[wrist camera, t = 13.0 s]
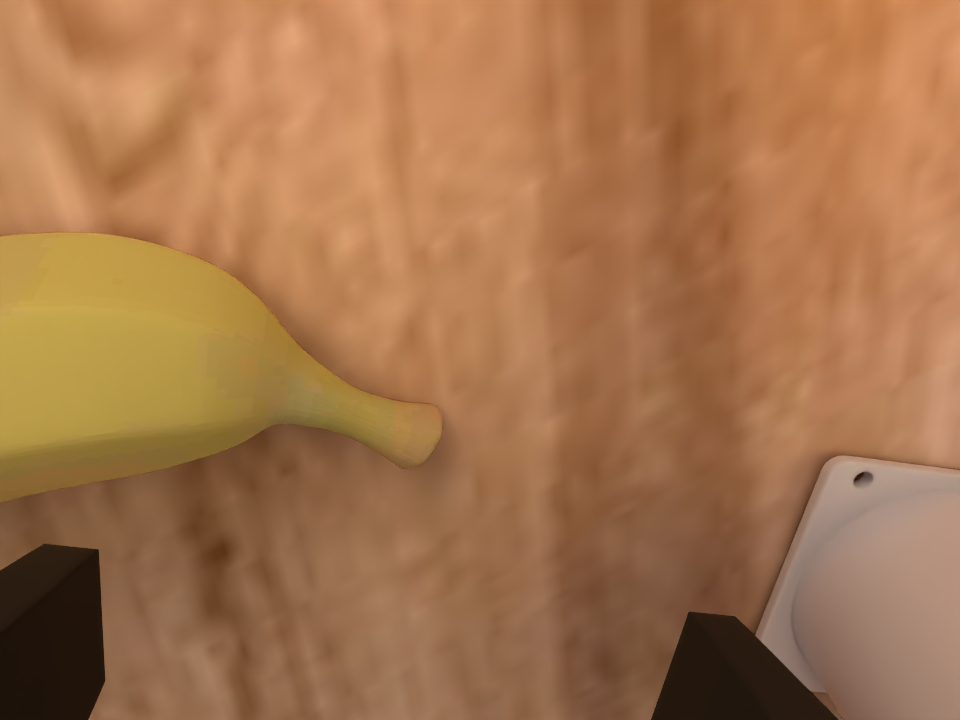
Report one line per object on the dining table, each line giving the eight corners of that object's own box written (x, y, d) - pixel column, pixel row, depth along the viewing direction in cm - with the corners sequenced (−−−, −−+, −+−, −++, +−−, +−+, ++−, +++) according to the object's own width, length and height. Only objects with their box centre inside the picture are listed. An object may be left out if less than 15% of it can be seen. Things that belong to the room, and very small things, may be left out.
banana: (-1053, 462, 9) (445, 294, 12) (-609, 260, 14) (413, 169, 16) (-314, 844, 17) (470, 698, 20) (-186, 643, 22) (444, 544, 24)
